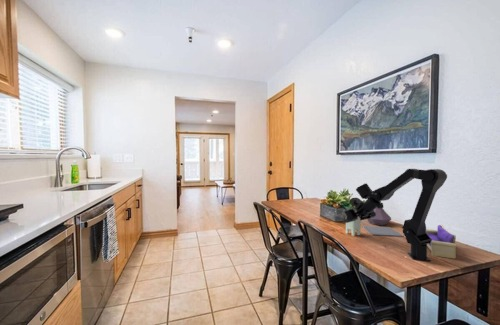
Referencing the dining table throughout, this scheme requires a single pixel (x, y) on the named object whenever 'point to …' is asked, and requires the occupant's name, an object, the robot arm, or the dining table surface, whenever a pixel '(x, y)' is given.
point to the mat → (382, 231)
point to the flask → (380, 217)
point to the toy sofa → (442, 242)
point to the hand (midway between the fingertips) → (351, 221)
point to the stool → (353, 227)
